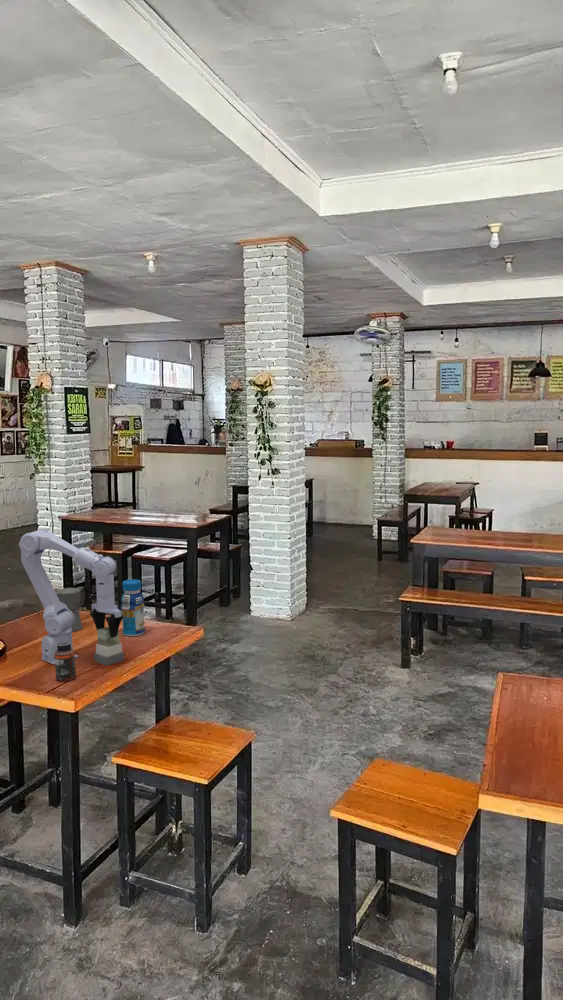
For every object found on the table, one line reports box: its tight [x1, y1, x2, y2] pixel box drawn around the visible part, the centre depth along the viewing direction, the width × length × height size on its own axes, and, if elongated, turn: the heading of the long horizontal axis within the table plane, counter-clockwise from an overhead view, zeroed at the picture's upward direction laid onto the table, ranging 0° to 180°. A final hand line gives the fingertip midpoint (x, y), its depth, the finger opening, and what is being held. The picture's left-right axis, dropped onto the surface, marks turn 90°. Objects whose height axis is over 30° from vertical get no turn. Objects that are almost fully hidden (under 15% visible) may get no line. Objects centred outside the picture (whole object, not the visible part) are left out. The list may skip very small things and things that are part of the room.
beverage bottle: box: [120, 579, 146, 637], centre depth 262 cm, size 8×8×20 cm
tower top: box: [95, 642, 123, 657], centre depth 234 cm, size 6×6×3 cm
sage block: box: [96, 626, 120, 647], centre depth 234 cm, size 5×5×5 cm
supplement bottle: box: [54, 642, 77, 682], centre depth 218 cm, size 6×6×11 cm
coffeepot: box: [55, 582, 91, 633], centre depth 270 cm, size 15×9×18 cm, turn 133°
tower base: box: [93, 651, 125, 667], centre depth 234 cm, size 7×7×3 cm
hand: (107, 634), depth 233 cm, fingers open, 7 cm apart
